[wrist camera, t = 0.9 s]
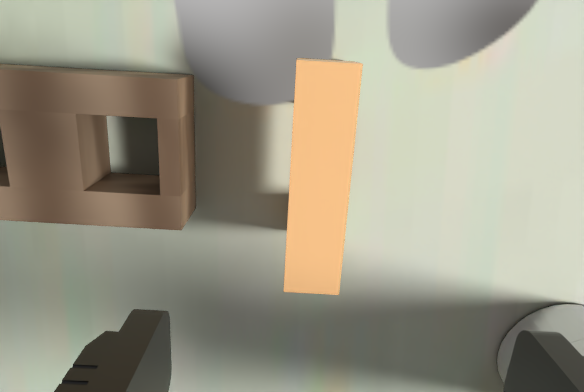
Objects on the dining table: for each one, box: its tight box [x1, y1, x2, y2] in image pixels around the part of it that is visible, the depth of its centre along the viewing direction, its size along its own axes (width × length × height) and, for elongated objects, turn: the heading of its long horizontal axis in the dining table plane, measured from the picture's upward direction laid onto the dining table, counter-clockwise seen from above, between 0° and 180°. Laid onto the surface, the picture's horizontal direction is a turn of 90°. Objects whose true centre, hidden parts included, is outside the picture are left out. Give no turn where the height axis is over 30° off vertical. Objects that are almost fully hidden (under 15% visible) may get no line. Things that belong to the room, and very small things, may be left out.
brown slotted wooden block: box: [0, 64, 196, 230], centre depth 27 cm, size 16×9×4 cm, turn 87°
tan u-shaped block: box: [284, 58, 363, 295], centre depth 26 cm, size 12×3×8 cm, turn 177°
